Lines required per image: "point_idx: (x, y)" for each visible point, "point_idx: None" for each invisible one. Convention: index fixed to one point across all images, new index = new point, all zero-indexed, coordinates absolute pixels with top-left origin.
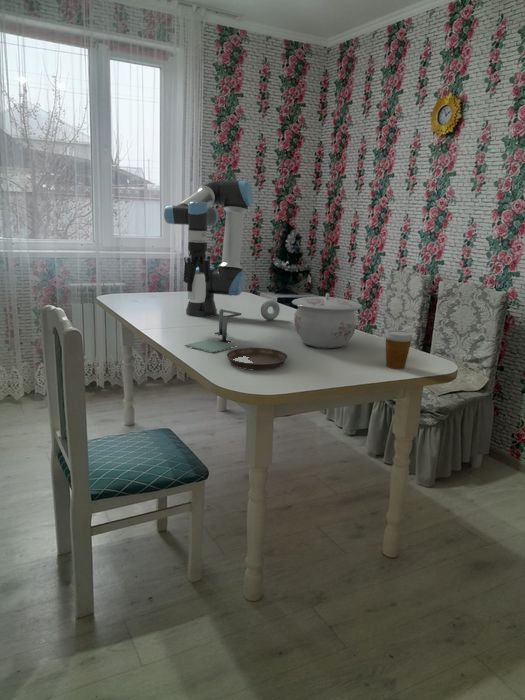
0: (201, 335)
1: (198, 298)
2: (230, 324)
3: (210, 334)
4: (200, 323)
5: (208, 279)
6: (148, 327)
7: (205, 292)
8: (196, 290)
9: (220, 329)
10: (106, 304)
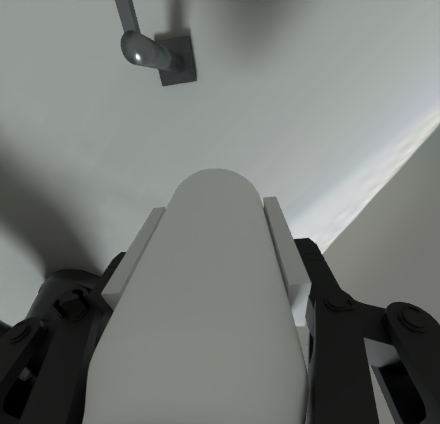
0: (248, 99)
1: (242, 185)
2: (59, 176)
3: (209, 91)
4: None
5: (43, 323)
6: None
7: (146, 227)
8: (261, 225)
9: (176, 54)
10: None
